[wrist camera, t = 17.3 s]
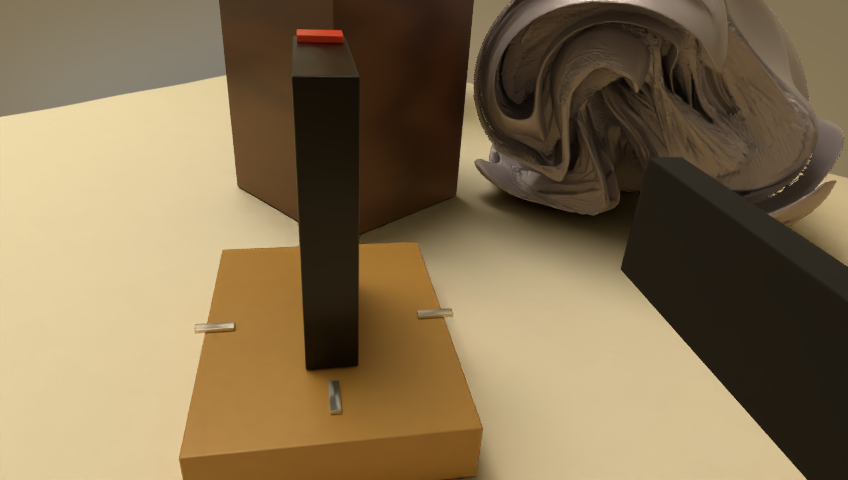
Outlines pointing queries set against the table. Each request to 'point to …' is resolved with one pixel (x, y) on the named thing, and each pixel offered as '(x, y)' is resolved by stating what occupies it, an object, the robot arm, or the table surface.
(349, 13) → the walnut box
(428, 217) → the table surface
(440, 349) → the light wooden block
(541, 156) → the grey shiny folded piece
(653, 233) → the robot arm
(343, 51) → the bar
